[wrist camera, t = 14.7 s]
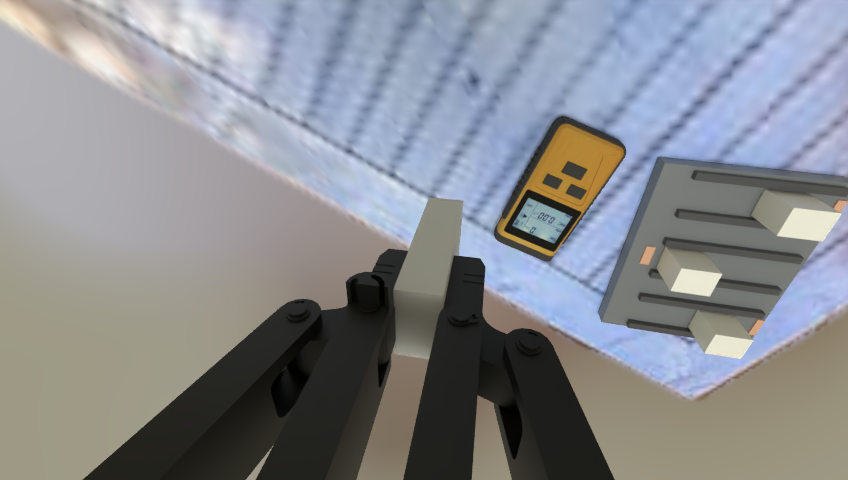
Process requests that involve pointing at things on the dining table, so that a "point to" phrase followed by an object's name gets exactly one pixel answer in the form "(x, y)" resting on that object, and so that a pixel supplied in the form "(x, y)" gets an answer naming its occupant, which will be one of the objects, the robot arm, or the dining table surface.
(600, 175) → the electronic device
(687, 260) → the tab
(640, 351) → the dining table surface
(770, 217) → the tab
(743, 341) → the tab
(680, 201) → the switch bank
